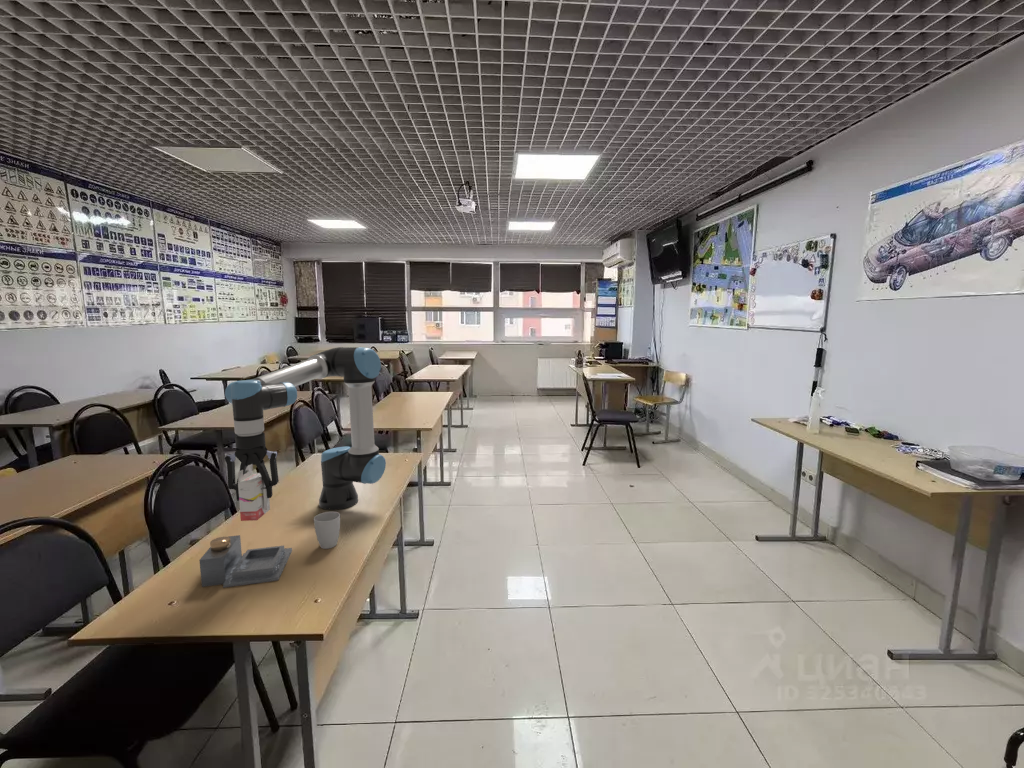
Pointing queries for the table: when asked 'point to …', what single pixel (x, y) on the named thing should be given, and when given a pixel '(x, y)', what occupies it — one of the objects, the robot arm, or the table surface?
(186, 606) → the table surface
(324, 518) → the cup
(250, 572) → the grey stepped base
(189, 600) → the table surface
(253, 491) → the ink cartridge box
